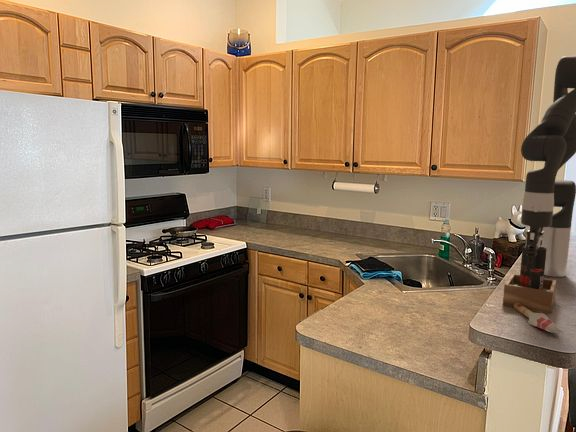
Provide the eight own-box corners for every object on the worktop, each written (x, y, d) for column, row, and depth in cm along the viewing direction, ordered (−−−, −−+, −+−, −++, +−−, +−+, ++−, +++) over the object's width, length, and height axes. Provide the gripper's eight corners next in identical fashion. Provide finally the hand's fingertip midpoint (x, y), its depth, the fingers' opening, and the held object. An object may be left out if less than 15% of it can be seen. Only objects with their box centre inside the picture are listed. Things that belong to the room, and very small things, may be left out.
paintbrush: (548, 326, 102) (510, 300, 122) (547, 337, 102) (509, 310, 122) (565, 326, 101) (524, 301, 121) (564, 338, 102) (524, 311, 122)
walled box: (510, 292, 136) (512, 273, 135) (554, 300, 129) (556, 280, 128) (502, 305, 124) (504, 284, 123) (550, 314, 118) (552, 292, 117)
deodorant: (520, 294, 131) (525, 244, 128) (543, 299, 127) (548, 247, 125) (515, 299, 126) (520, 247, 124) (539, 304, 122) (544, 251, 120)
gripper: (525, 204, 131) (520, 258, 133) (518, 210, 119) (513, 268, 122) (555, 206, 126) (549, 262, 129) (550, 212, 115) (544, 273, 117)
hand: (531, 265), depth 125 cm, fingers open, 8 cm apart
